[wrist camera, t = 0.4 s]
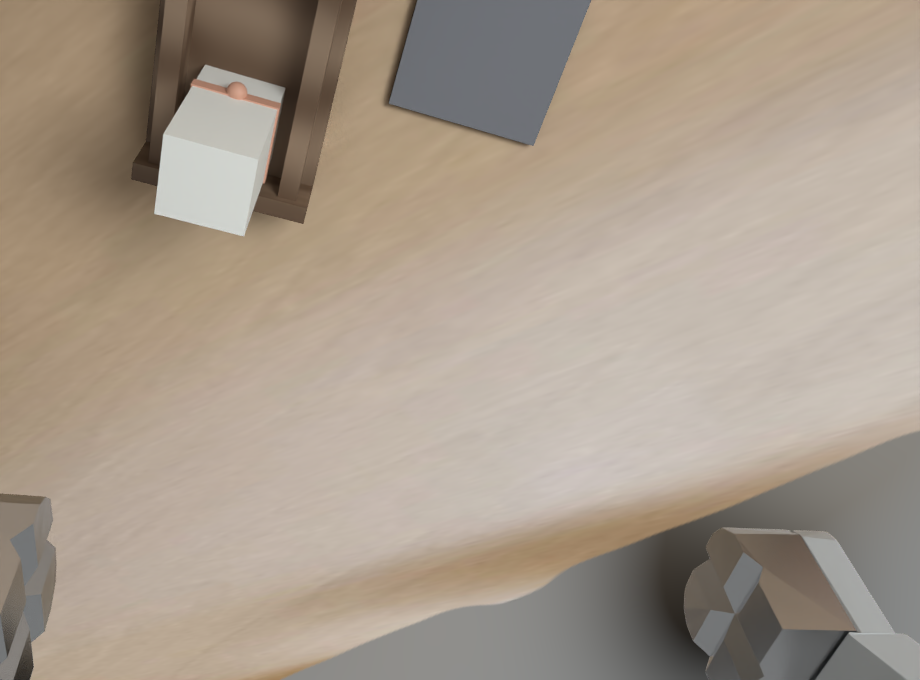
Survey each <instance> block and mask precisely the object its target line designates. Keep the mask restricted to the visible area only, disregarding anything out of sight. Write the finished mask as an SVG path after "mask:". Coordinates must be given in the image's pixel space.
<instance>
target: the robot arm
mask: <svg viewBox="0 0 920 680" xmlns="http://www.w3.org/2000/svg"><path fill="white" fill-rule="evenodd" d="M52 522H53V516H52V508H51V500H50V499H49V498H47V497H42V496H28V495H13V494H0V680H30V677H31V674H32V671H33V668H34V666H33V656H32V646H31V642H32V641H34V640H35V639H36V638H37V637H38V636H39V635H41V634H42V633H43V632H44V631H45V628H46V624H47V621H48V617H49V614H50V610H51V605H52V600H53V594H54V588H55V582H56V549H55V547H54V546H53V545H52V544H51V543H50V542H49V541H47V537H48V534H49V531H50V528H51V525H52ZM706 549H707V552H708V554H709V557H710V559H709V560H707V561H706V562H705V563H703V564H701V565H700V566H699V567H697V568H695V569H694V570H693V572H692V574H691V576H690V578H689V581H688V583H687V585H686V587H685V599H684V611H685V617H686V623H687V626H688V629H689V631H690V634H691V636H692V639H693V641H694V642H695V643H696V644H697V645H698V646H699V647H701V648H702V649H703V650H704V651H705V652H706V653H707V654H708V655H709V656H710V658H709V661H708V665H707V668H706V671H705V672H706V674H707V677H708V679H709V680H920V644H918V643H917V642H916V641H914V640H913V639H912V638H910V637H909V636H908V635H906V634H899V633H895V632H894V631H893V629H892V627H891V626H890V624H889V623H888V621H887V619H886V618H885V616H884V615H883V613H882V612H881V610H880V608H879V607H878V605H877V604H876V602H875V600H874V599H873V597H872V596H871V594H870V593H869V591H868V589H867V588H866V586H865V584H864V583H863V581H862V580H861V578H860V576H859V575H858V573H857V572H856V570H855V569H854V567H853V565H852V564H851V562H850V561H849V559H848V557H847V556H846V554H845V553H844V551H843V550H842V548H841V546H840V545H839V543H838V541H837V540H836V539H835V538H834V537H833V536H831V535H830V534H829V533H827V532H822V531H796V530H791V531H788V530H777V529H749V528H748V529H747V528H720V529H719V530H718V531H716V532H715V533H713V534H712V536H711V538H710V540H709V542H708V544H707V545H706Z"/></svg>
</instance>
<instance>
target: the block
mask: <svg viewBox="0 0 920 680" xmlns="http://www.w3.org/2000/svg"><path fill="white" fill-rule="evenodd" d="M284 93H285V88H284V87H281V86H277V85H274V84H271V83H267V82H264V81H260V80H257V79H253V78H250V77H246V76H243V75H239V74H236V73H233V72H229V71H226V70H222V69H219V68H215V67H212V66H208V65H205V66H204V67H203V69H202V71H201V72H200V74H199V76H198V77H197V79H193V81H192V83H191V87H190V91H189V92H188V94H187V96H186V97H185V99H184V101H183V102H182V104H181V105H180V107H179V109H178V110H177V112H176V114H175V115H174V117H173V119H172V120H171V122H170V124H169V125H168V127H167V129H166V130H165V132H164V134H163V142H162V151H161V160H160V168H159V177H158V186H157V195H156V203H155V212H154V214H158V215H161V216H165V217H169V218H173V219H177V220H181V221H185V222H189V223H193V224H197V225H201V226H205V227H209V228H213V229H217V230H221V231H225V232H229V233H233V234H236V235H240V236H244V235H245V232H246V229H247V226H248V223H249V220H250V218H251V215H252V212H253V209H254V206H255V204H256V201H257V198H258V195H259V192H260V189H261V187H262V184H263V183H264V184H265V181H266V178H267V173H268V168H269V164H270V161H271V158H272V154H273V149H274V144H275V139H276V134H277V129H278V124H279V119H280V114H281V109H282V104H283V99H284Z"/></svg>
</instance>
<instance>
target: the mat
mask: <svg viewBox="0 0 920 680" xmlns="http://www.w3.org/2000/svg"><path fill="white" fill-rule="evenodd" d="M590 2H591V0H417V2H416V6H415V9H414V13H413V17H412V20H411V24H410V27H409V31H408V35H407V38H406V42H405V46H404V49H403V53H402V56H401V60H400V64H399V67H398V71H397V74H396V78H395V82H394V85H393V89H392V92H391V96H390V100H389V104H392V105H395V106H399V107H402V108H406V109H409V110H412V111H416V112H419V113H423V114H426V115H430V116H433V117H436V118H440V119H443V120H447V121H450V122H453V123H457V124H460V125H464V126H467V127H471V128H474V129H477V130H481V131H484V132H488V133H491V134H494V135H498V136H501V137H505V138H508V139H512V140H515V141H518V142H522V143H525V144H529V145H532V146H534V143H535V140H536V138H537V135H538V133H539V130H540V128H541V125H542V123H543V120H544V118H545V115H546V113H547V110H548V108H549V105H550V103H551V100H552V98H553V95H554V93H555V90H556V88H557V85H558V83H559V80H560V77H561V75H562V72H563V70H564V67H565V65H566V62H567V60H568V57H569V55H570V52H571V50H572V47H573V45H574V42H575V40H576V37H577V35H578V32H579V30H580V27H581V25H582V22H583V19H584V17H585V14H586V12H587V9H588V7H589V4H590Z"/></svg>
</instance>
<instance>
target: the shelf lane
mask: <svg viewBox="0 0 920 680" xmlns="http://www.w3.org/2000/svg"><path fill="white" fill-rule="evenodd" d="M356 1H357V0H160V10H159V20H158V30H157V40H156V49H155V59H154V69H153V79H152V89H151V98H150V108H149V118H148V128H147V138H146V143H145V144H144V146H143V148H142V149H141V151H140V152H139V154H138V156H137V157H136V159H135V160H134V162H133V168H132V178H131V179H132V180H136V181H140V182H144V183H148V184H152V185H155V186H158V177H159V168H160V160H161V151H162V142H163V134H164V132H165V130H166V129H167V127H168V125H169V124H170V122H171V120H172V119H173V117H174V115H175V114H176V112H177V110H178V109H179V107H180V105H181V104H182V102H183V101H184V99H185V97H186V96H187V94H188V92H189V91H190V87H191V83H192V81H193V79H197V77H198V76H199V74H200V72H201V71H202V69H203V67H204V66H205V65H208V66H212V67H215V68H219V69H222V70H226V71H229V72H233V73H236V74H239V75H243V76H246V77H250V78H253V79H257V80H260V81H264V82H267V83H271V84H274V85H277V86H281V87H284V88H285V93H284V99H283V104H282V109H281V114H280V119H279V124H278V129H277V134H276V139H275V144H274V149H273V154H272V158H271V161H270V164H269V168H268V173H267V178H266V181H265V184H264V183H263V184H262V187H261V189H260V192H259V195H258V198H257V201H256V204H255V206H254V209H253V211H256V212H259V213H263V214H267V215H271V216H275V217H279V218H282V219H286V220H290V221H294V222H298V223H302V224H303V223H304V219H305V215H306V211H307V207H308V203H309V199H310V195H311V191H312V187H313V183H314V179H315V175H316V170H317V166H318V162H319V158H320V153H321V149H322V145H323V141H324V136H325V132H326V128H327V124H328V119H329V115H330V111H331V107H332V103H333V98H334V94H335V90H336V86H337V81H338V77H339V73H340V69H341V64H342V60H343V56H344V52H345V48H346V43H347V39H348V35H349V31H350V26H351V22H352V18H353V14H354V9H355V5H356Z"/></svg>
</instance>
